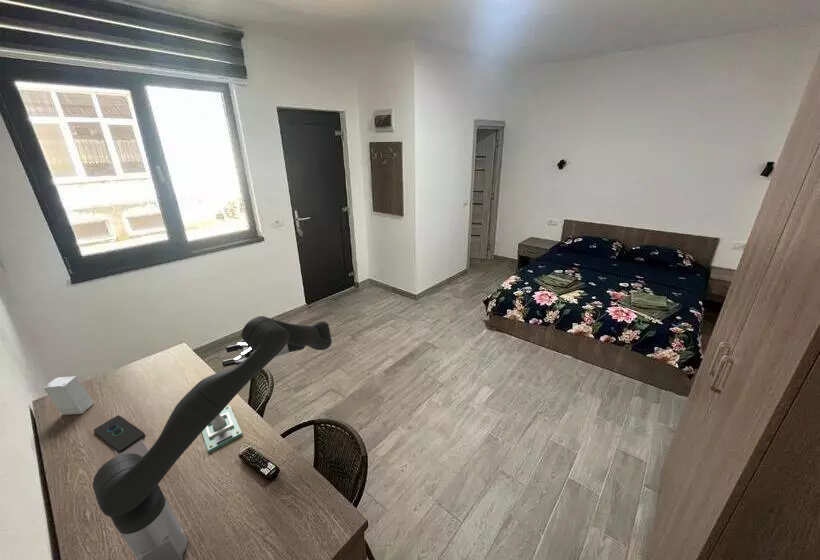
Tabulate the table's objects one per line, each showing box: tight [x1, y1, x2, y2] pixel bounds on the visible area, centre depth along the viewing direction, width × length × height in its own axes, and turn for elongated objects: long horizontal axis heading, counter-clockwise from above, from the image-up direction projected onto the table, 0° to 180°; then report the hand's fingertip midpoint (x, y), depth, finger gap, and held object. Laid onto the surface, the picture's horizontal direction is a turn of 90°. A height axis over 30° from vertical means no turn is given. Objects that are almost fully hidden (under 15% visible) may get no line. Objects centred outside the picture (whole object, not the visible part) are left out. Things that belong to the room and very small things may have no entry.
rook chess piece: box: [212, 414, 226, 430], centre depth 118 cm, size 4×4×8 cm
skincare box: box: [43, 375, 95, 416], centre depth 127 cm, size 8×6×15 cm
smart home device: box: [93, 414, 146, 452], centre depth 119 cm, size 8×2×20 cm
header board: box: [201, 404, 243, 454], centre depth 119 cm, size 18×11×2 cm, turn 40°
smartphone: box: [112, 439, 150, 457], centre depth 113 cm, size 7×1×15 cm
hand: (224, 356), depth 111 cm, fingers open, 8 cm apart
